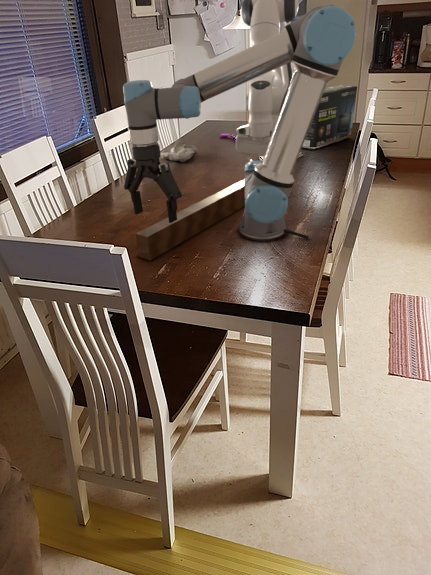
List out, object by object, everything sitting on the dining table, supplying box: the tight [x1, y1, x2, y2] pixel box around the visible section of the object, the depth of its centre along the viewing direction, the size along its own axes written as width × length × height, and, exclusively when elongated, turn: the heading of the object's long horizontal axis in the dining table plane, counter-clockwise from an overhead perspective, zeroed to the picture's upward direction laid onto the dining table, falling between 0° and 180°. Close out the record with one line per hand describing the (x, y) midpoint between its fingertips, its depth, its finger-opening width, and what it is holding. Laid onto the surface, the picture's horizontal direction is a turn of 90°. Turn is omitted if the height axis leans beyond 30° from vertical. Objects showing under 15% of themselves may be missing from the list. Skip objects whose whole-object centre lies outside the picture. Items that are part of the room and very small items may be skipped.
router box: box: [303, 84, 358, 151], centre depth 238 cm, size 36×11×27 cm, turn 134°
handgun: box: [220, 132, 236, 140], centre depth 257 cm, size 21×8×2 cm, turn 11°
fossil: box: [160, 142, 199, 163], centre depth 229 cm, size 18×11×15 cm
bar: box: [135, 178, 245, 261], centre depth 159 cm, size 71×5×8 cm, turn 144°
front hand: (155, 217), depth 135 cm, fingers open, 13 cm apart
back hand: (260, 166), depth 176 cm, fingers open, 8 cm apart
